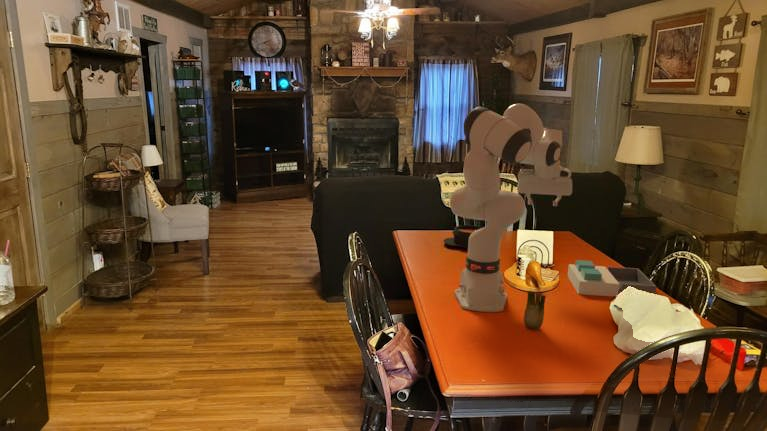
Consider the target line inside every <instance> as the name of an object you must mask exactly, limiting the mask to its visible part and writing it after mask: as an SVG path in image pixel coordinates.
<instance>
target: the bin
mask: <svg viewBox="0 0 767 431" xmlns="http://www.w3.org/2000/svg"><path fill="white" fill-rule="evenodd" d="M607 269H608V271H609V272H610V273H611V274H612V275H613V277H614V278H615V279H616V280H617V281H618V283H619V284H620V285H619V292H618V294H619V293H620V292H622V291H623V290H624V289H626V288H627V287H628V286H631V287H634V288H636V289H638V290H642V291H646V292H649V293H654V294H655V295H656V292H657V291H656V290H657V285H656V284H655V283H654V282H653V281H652V280H651V279H650V278H648V277H647V276H646V275H645V274H644V272H643V271H641V269H640V268H635V267H634V268H633V267H621V266H620V267H619V266H607Z"/></svg>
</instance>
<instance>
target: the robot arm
mask: <svg viewBox="0 0 767 431" xmlns="http://www.w3.org/2000/svg"><path fill="white" fill-rule="evenodd" d="M463 135H464V137H465V139H464V142H465V143H466V145H468V146H470V147H471V148H470V150H469V151H468V153H466V155H465V157H464V161H463V178H464V182H465V185H464V186H463V187H460V188H456V189H455V190H454V191H453V193H451V196H450V200H449V207H450V210H451V211H452V213H453V215H455V216H458V217H460V218H463V219H467V220H468V219H469V220H475V221H476V220H477V221H478V220H479V221H485V222H487V224H486V226H483V228H481V229H478V230H476V231H474V232H473V233H471V235H470V236H469V242H468V249H467V255H466V258H465V267H464V269H462V270H461V272H460V281H459V282H460V283H459V288H457V289H455V290H454V291H453V292H454V296H455V298H456V299H457V301H458V303H459V305H460V307H461V308H462V309H465V310H469V311H475V312H482V313H485V312H487V313H498V312H503V311H504V309H505V305H506V302H507V298H508V294H507V292H505V289H506V288H505V286H503V285H504V283H505V280H504V279H503V272H501V271H500V266H501V259H500V250H501V242H502V240H503V237H504V234H505V232H506V231H507V230H508V229H509V228H510V226H512V225H514V224H515V223H516V222H518V221H519V220H520V219H521V218H522V217H523V216H524V215H525V211H526V204H525V200H524V198H523V197H522V195H521V194H525V196H526V198H527V205H531V206H533V202H534V200H533V198H532V199H531V198H530V197H531V195H547V196H556V197H557V198H555V200H552V206H553V207H558V203H559V201H560V200H561V199H562V197H563V196H566V197H567V196H571V195H572V194H573V179H572V178H571V177H572V172H571V170H570V169H569V168H567V167H564V166H561V160H560V159H561V155H562V148H563V130H562V129H560V128H556V127H549V126H547V127H546V126H544V124H543V121H542V119H541V118H540V116H539V115H538V114H537V113H536V111H535V110H534V109H532V108H531V107H530V106H528V105H527V104H524V103H519V102H518V103H515V104H512V105H510V106H509V107H507V109H506V110H504V113H503V115H501V114H499V113H497V112H495V111H492V109H490V108H487V107H484V106H477V107H475V108H473V109H471V111H469V113H468V114H467V115H466V117H465V118H464V121H463ZM498 158H499V159H500V160H502V161H503V162H505V163H507V164H510V165H516V164H523V165H531V166H534V168H533V169H531V168H530V169H528V168H523V169H520V170H519V171H518V173H517V179H518V182H517V185H516V190H517V192H518V193H517V192H513V191H509V190H503V189H501V186H502V184H501V175H500V167H499V164H498V162H497V161H498V160H497V159H498Z"/></svg>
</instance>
